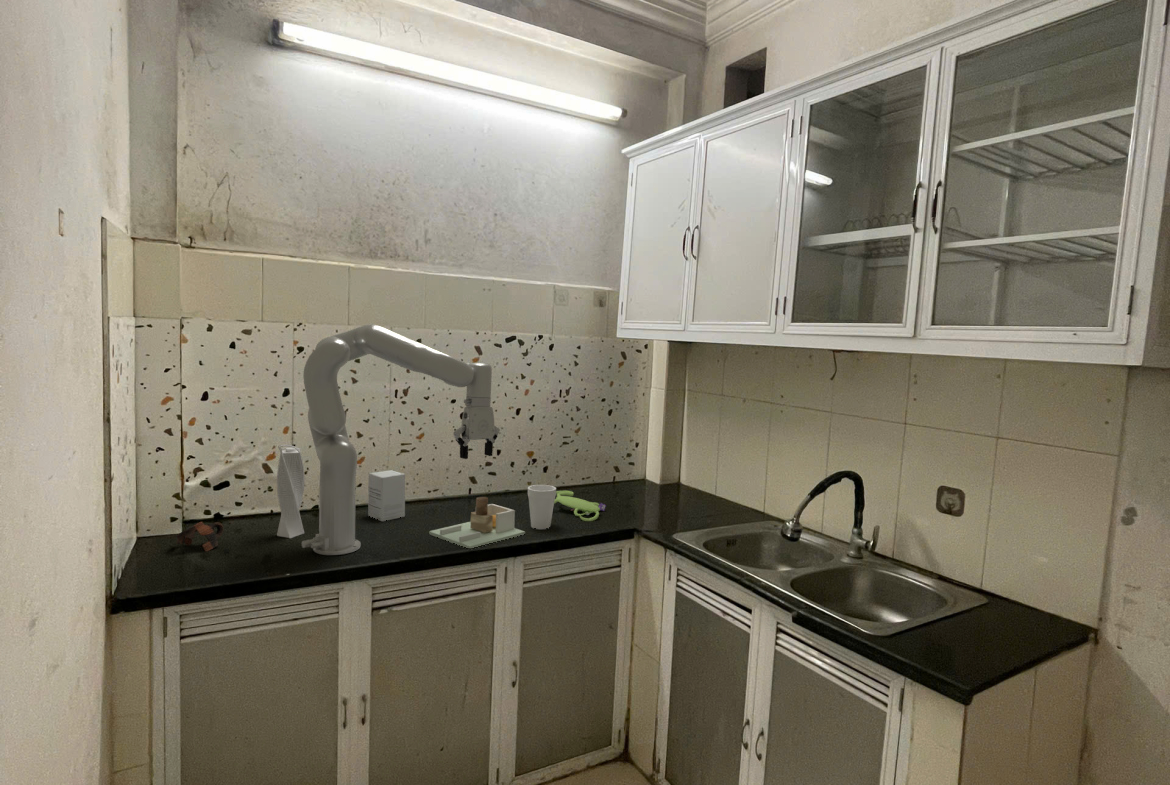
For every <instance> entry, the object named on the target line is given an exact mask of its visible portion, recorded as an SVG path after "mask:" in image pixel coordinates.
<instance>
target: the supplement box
mask: <svg viewBox="0 0 1170 785" xmlns="http://www.w3.org/2000/svg"><path fill="white" fill-rule="evenodd" d="M367 483H368V493H367V494H368V495H367V496H368V499H367V500H368V501H367V502H368V505H367V506H368V507H367V508H368V509H367V510H368V512H367V516H368V517H369V516H370V518H372V517H373V518H372V519H374V518H375V519H374V520H377V519H378V520H377V521H380V522H386V520H387V521H390V520H391V521H392V520H395V519H400V517H401V518H404V517H405V516H406V474H405V473H403V472H399V471H395V470H392V469H390V470H384V471H383V470H382V471H375V472H370V473H368V482H367Z"/></svg>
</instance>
